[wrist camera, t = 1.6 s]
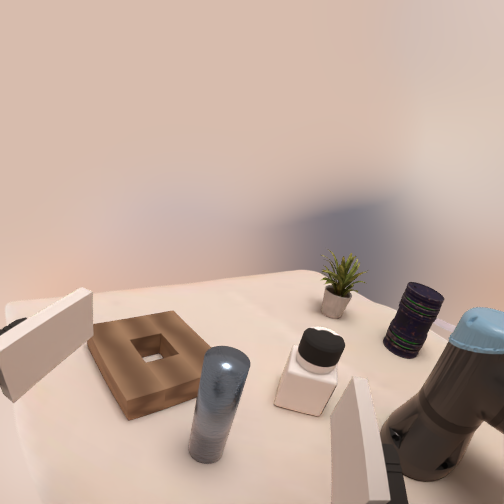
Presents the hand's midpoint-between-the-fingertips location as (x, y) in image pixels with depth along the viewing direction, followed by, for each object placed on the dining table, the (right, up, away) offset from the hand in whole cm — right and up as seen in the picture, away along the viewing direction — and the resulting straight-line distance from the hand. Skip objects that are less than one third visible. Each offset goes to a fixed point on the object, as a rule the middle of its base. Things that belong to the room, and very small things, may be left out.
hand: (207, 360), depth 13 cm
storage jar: (+37, -18, +49) cm, 64 cm away
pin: (-3, -18, +16) cm, 24 cm away
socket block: (-13, -12, +28) cm, 33 cm away
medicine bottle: (+9, -17, +29) cm, 35 cm away
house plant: (+22, -10, +61) cm, 65 cm away
